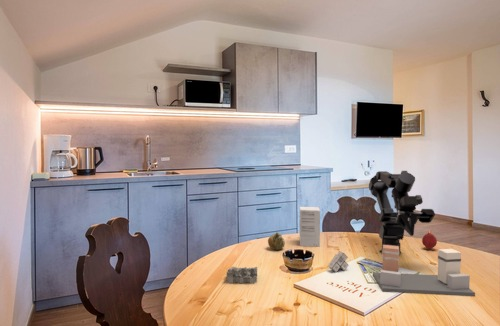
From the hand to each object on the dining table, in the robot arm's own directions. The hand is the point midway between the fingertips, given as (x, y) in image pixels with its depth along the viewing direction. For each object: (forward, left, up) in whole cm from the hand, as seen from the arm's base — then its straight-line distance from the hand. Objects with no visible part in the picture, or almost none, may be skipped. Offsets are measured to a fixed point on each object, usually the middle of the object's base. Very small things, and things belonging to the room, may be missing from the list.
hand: (412, 235), depth 124 cm
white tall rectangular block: (+13, -2, -12) cm, 18 cm away
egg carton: (-32, -52, -14) cm, 63 cm away
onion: (-9, +34, -14) cm, 38 cm away
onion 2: (-51, -19, -14) cm, 57 cm away
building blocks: (-19, -18, -14) cm, 30 cm away
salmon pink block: (-1, -13, -12) cm, 18 cm away
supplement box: (-48, -1, -14) cm, 50 cm away
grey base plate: (+7, -9, -14) cm, 18 cm away
